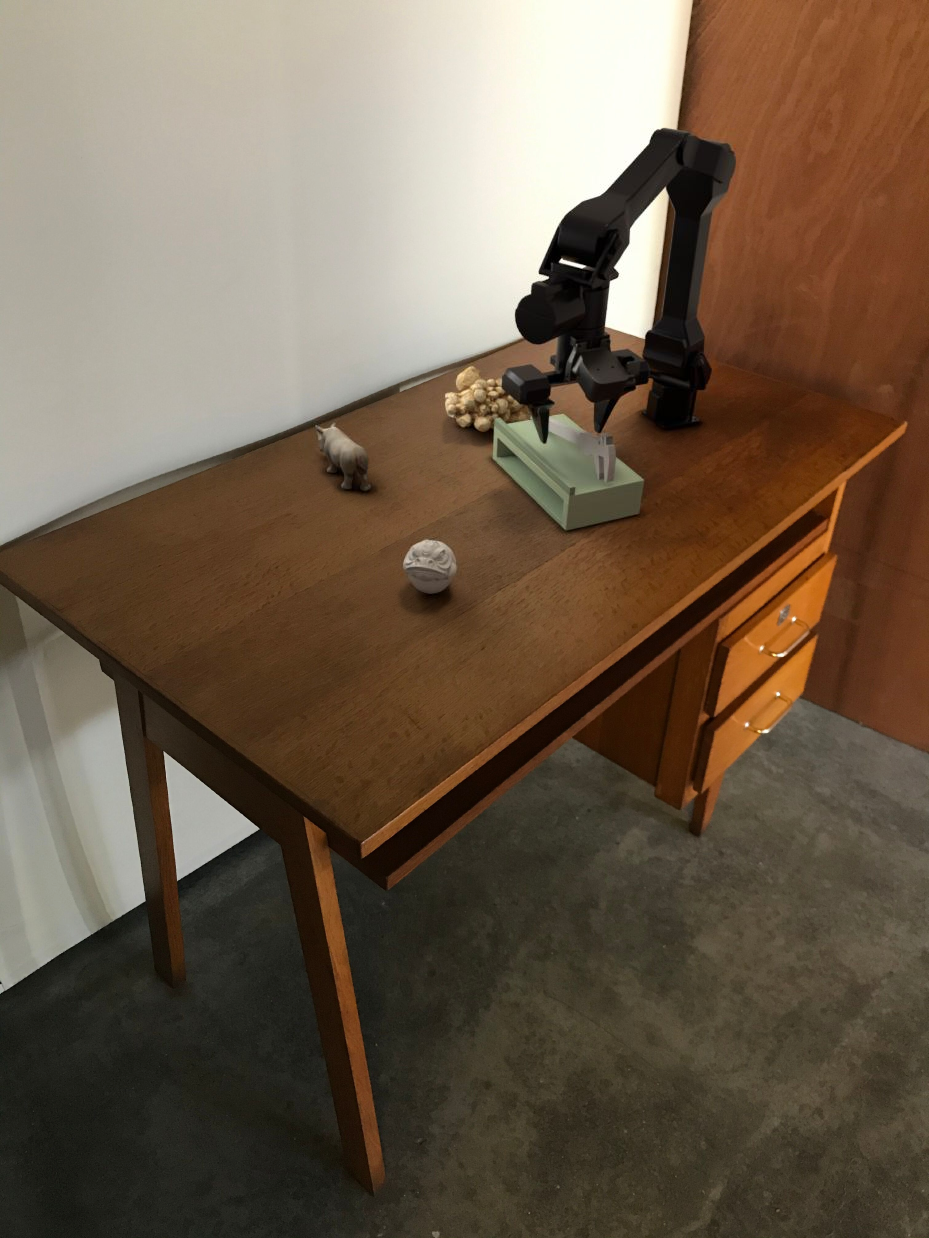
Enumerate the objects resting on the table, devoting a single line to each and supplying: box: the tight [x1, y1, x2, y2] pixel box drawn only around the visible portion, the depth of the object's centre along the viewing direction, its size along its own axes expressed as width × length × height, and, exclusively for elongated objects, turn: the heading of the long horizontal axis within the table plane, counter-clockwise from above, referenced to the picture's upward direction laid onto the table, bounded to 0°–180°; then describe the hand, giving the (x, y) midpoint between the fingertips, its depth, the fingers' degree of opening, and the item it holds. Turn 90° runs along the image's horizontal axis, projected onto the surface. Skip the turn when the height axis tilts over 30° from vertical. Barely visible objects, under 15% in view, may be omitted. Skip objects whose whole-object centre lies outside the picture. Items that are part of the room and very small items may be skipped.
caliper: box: [530, 416, 617, 483], centre depth 132 cm, size 20×1×6 cm, turn 25°
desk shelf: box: [492, 413, 645, 531], centre depth 134 cm, size 11×21×6 cm, turn 25°
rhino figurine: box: [315, 422, 371, 492], centre depth 136 cm, size 4×14×6 cm, turn 30°
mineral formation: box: [444, 365, 531, 433], centre depth 148 cm, size 8×13×15 cm
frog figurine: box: [402, 539, 458, 595], centre depth 113 cm, size 6×7×7 cm
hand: (570, 437), depth 132 cm, fingers open, 8 cm apart
